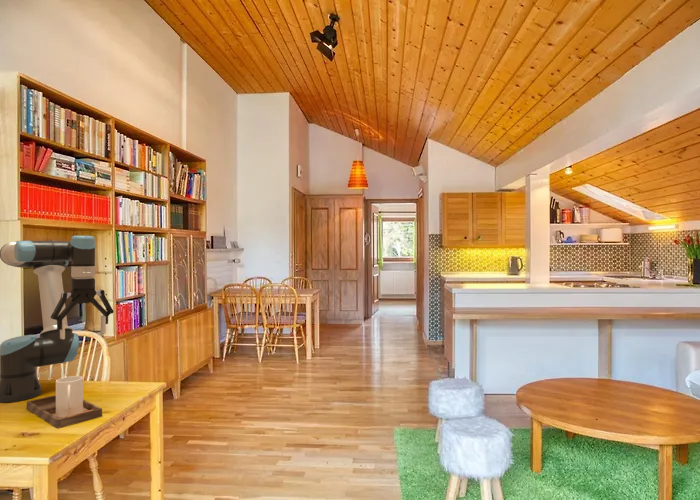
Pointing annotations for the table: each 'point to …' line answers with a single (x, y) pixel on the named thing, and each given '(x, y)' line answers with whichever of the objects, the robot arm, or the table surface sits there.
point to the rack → (48, 409)
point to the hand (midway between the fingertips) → (83, 335)
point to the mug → (69, 396)
